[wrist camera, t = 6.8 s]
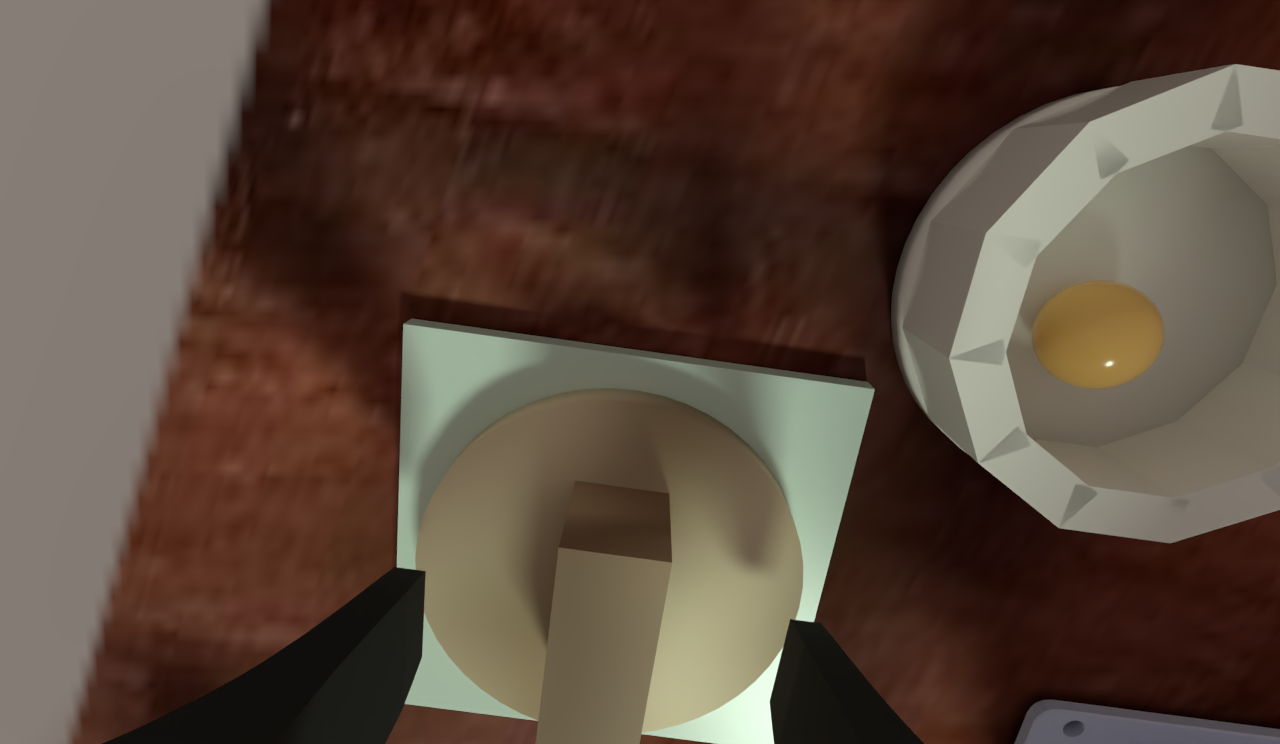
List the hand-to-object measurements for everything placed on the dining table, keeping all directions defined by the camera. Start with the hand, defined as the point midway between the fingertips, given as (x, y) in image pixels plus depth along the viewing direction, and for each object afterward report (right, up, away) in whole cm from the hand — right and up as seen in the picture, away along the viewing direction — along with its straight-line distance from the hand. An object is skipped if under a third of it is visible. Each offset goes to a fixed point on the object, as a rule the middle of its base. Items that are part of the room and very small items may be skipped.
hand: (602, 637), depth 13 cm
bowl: (+10, +7, +1) cm, 12 cm away
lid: (0, +1, +2) cm, 3 cm away
